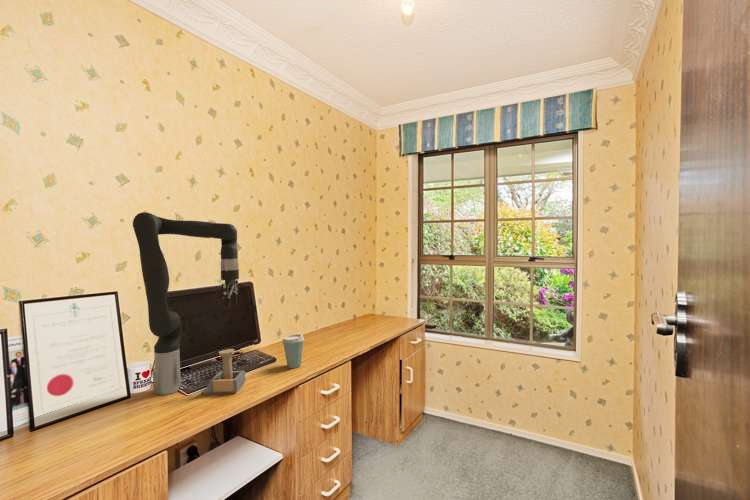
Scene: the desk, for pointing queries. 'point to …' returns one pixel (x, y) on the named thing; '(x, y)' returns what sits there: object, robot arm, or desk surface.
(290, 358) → the disposable coffee cup
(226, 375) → the handle
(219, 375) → the socket
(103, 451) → the desk surface
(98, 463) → the desk surface
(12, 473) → the desk surface
